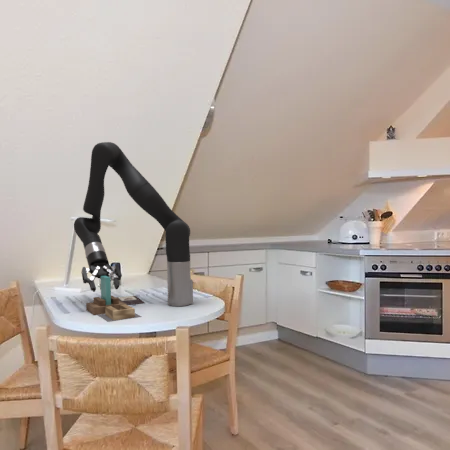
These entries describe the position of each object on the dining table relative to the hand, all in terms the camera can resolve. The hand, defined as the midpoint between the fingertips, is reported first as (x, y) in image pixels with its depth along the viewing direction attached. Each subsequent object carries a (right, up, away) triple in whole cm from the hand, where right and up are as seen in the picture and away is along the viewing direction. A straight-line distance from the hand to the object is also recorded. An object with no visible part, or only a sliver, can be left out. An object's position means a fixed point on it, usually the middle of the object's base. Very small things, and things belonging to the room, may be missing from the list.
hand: (106, 289), depth 162 cm
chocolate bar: (+5, -8, +19) cm, 21 cm away
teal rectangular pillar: (0, -5, 0) cm, 5 cm away
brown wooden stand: (0, -8, +1) cm, 8 cm away
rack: (+7, -8, -9) cm, 14 cm away
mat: (+7, -9, -9) cm, 14 cm away
